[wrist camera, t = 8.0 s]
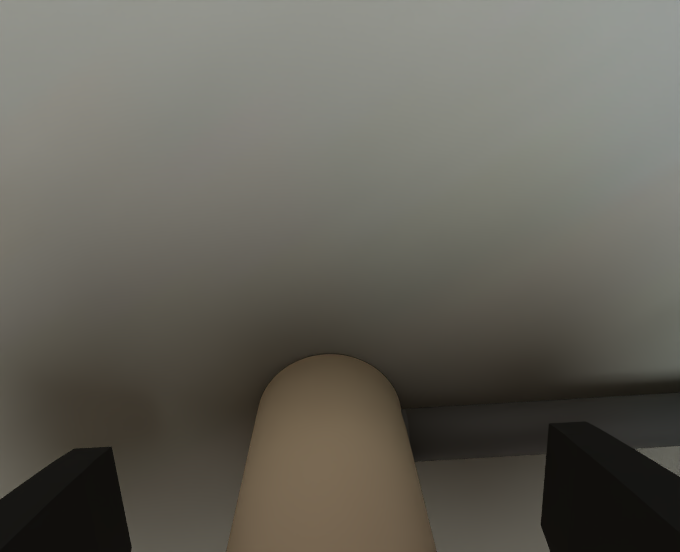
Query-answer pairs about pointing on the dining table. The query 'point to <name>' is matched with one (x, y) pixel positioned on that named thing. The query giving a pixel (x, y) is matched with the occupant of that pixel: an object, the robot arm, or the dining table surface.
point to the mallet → (390, 454)
